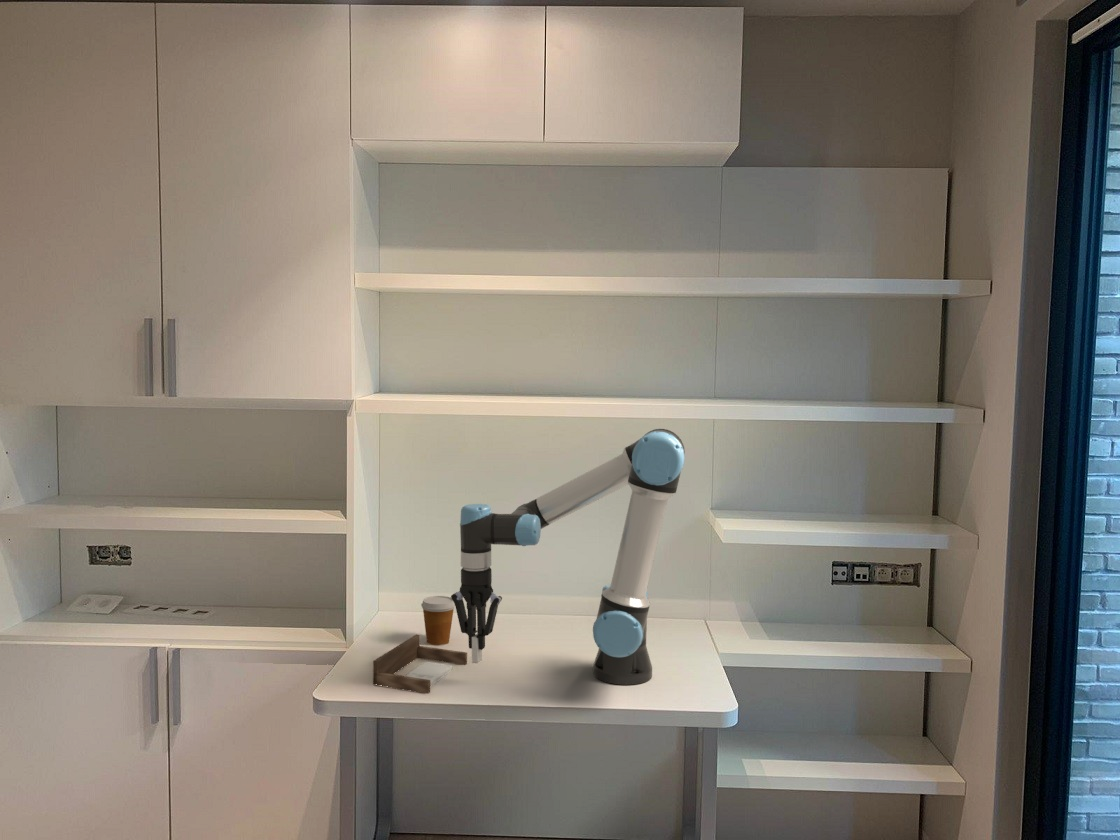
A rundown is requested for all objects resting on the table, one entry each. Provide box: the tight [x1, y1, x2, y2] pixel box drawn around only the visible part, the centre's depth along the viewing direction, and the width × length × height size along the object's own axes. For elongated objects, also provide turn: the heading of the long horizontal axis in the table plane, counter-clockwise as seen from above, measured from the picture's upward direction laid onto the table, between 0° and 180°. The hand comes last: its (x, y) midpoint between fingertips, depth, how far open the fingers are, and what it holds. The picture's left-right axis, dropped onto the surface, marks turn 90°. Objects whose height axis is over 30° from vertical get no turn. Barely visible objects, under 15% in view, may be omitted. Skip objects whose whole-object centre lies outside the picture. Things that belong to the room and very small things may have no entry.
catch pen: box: [372, 634, 468, 694], centre depth 219 cm, size 15×22×6 cm
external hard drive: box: [405, 661, 453, 687], centre depth 218 cm, size 2×8×12 cm
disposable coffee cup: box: [421, 595, 456, 646], centre depth 244 cm, size 10×10×12 cm
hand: (477, 661), depth 214 cm, fingers closed
